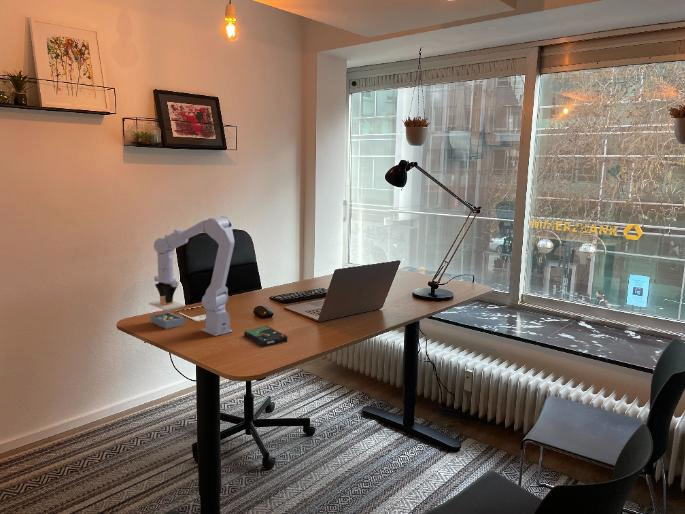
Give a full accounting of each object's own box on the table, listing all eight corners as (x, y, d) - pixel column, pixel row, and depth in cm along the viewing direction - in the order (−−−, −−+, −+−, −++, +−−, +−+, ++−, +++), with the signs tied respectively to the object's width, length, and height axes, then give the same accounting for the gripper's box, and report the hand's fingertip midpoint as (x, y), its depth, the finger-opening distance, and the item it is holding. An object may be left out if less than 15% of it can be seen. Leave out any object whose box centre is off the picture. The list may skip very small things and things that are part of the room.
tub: (184, 325, 212) (184, 318, 212) (165, 329, 206) (165, 322, 206) (168, 319, 220) (168, 311, 220) (150, 322, 214) (150, 315, 214)
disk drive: (288, 343, 197) (266, 332, 208) (288, 336, 197) (267, 325, 208) (263, 348, 191) (243, 337, 202) (263, 341, 190) (243, 329, 201)
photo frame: (196, 320, 218) (174, 310, 230) (196, 322, 218) (174, 313, 230) (227, 313, 228) (204, 305, 240) (227, 316, 228) (204, 307, 240)
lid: (184, 306, 211) (184, 297, 210) (165, 310, 205) (164, 301, 204) (168, 300, 219) (167, 292, 218) (148, 304, 213) (148, 295, 212)
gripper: (184, 269, 207) (185, 303, 210) (165, 264, 217) (166, 296, 219) (168, 271, 202) (169, 306, 205) (149, 266, 212) (150, 299, 214)
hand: (166, 301), depth 212 cm, fingers closed on lid, 3 cm apart
